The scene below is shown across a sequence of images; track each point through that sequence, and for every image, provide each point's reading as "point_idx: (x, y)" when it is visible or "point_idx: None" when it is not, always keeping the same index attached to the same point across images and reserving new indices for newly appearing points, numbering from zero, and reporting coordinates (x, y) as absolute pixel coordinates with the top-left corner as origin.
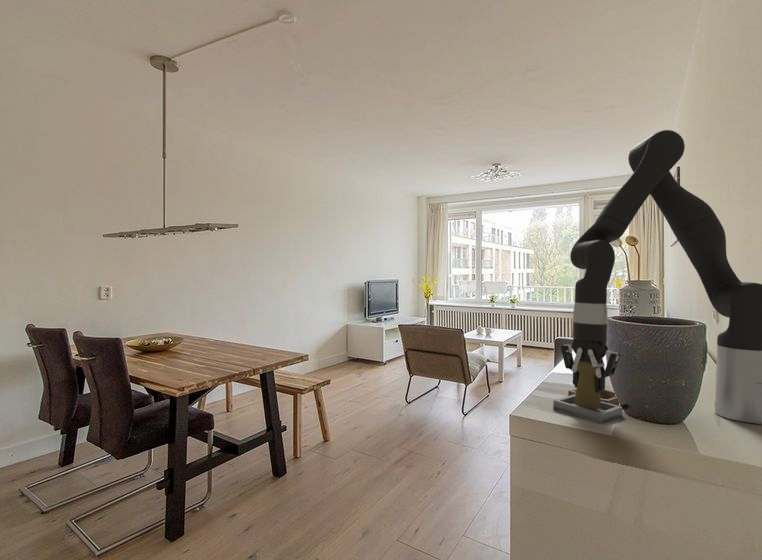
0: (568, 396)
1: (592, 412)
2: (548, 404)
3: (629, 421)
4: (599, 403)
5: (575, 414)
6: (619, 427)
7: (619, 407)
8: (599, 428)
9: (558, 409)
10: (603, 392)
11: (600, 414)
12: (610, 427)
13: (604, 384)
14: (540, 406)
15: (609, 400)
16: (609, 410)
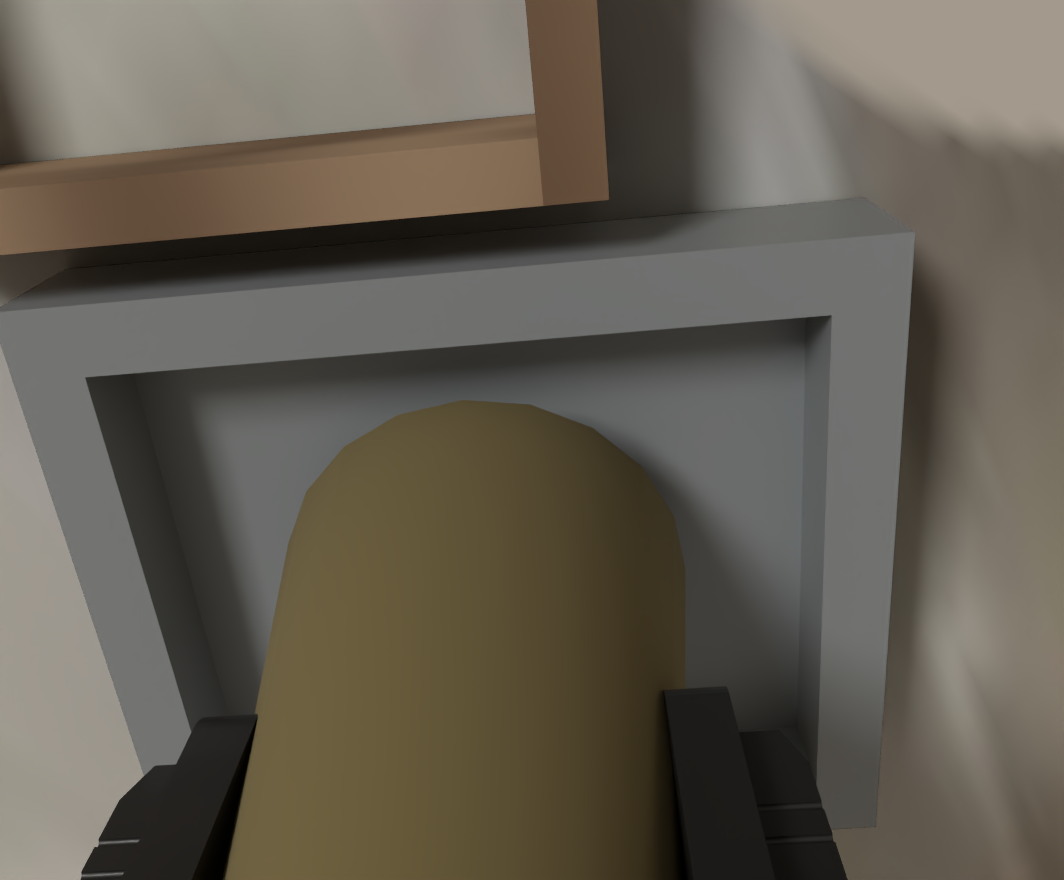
0: (80, 537)
1: None
2: (38, 683)
3: (1029, 341)
4: (683, 611)
5: None
6: (1020, 664)
7: (892, 318)
8: (886, 857)
9: None
10: None
11: (850, 823)
12: (950, 745)
13: (833, 859)
14: (81, 818)
15: (603, 131)
16: (859, 608)
